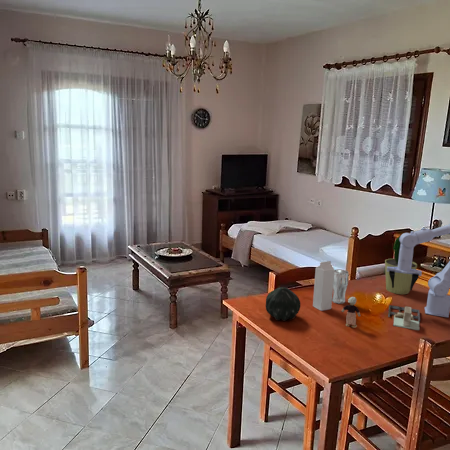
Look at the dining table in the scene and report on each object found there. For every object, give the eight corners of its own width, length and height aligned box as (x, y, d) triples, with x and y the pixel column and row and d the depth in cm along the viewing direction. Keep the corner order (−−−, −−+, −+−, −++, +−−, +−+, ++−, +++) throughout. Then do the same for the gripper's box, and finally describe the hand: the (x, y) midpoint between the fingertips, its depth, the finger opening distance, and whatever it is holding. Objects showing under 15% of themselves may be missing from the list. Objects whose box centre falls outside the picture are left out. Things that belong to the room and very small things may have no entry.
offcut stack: (413, 319, 192) (414, 314, 191) (413, 322, 189) (414, 317, 189) (393, 316, 195) (394, 311, 194) (393, 319, 192) (394, 313, 191)
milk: (312, 306, 202) (315, 260, 198) (323, 304, 205) (326, 259, 200) (321, 311, 197) (324, 264, 192) (331, 309, 200) (335, 262, 195)
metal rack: (418, 312, 199) (419, 309, 199) (419, 322, 188) (420, 319, 188) (389, 307, 203) (389, 304, 203) (388, 317, 193) (388, 314, 192)
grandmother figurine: (359, 325, 184) (362, 296, 181) (359, 328, 180) (362, 300, 178) (340, 322, 186) (343, 294, 183) (339, 325, 183) (342, 297, 180)
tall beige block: (409, 320, 189) (411, 307, 187) (409, 326, 182) (411, 313, 181) (403, 319, 189) (404, 306, 188) (403, 325, 183) (404, 312, 182)
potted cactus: (388, 295, 218) (395, 237, 212) (377, 284, 233) (383, 229, 227) (419, 296, 218) (426, 238, 212) (406, 285, 233) (413, 230, 227)
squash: (287, 295, 200) (273, 275, 192) (311, 307, 188) (297, 287, 180) (268, 319, 196) (252, 300, 188) (291, 333, 185) (276, 314, 176)
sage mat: (418, 322, 188) (418, 321, 188) (419, 330, 181) (419, 329, 180) (393, 318, 191) (394, 317, 191) (393, 325, 184) (393, 324, 184)
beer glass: (346, 304, 205) (349, 274, 202) (331, 303, 206) (333, 273, 203) (345, 299, 211) (348, 269, 208) (330, 297, 213) (333, 268, 210)
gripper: (388, 260, 195) (384, 288, 198) (423, 264, 190) (419, 293, 193) (388, 255, 201) (385, 283, 204) (422, 260, 197) (418, 288, 199)
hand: (401, 288), depth 199 cm, fingers open, 7 cm apart
